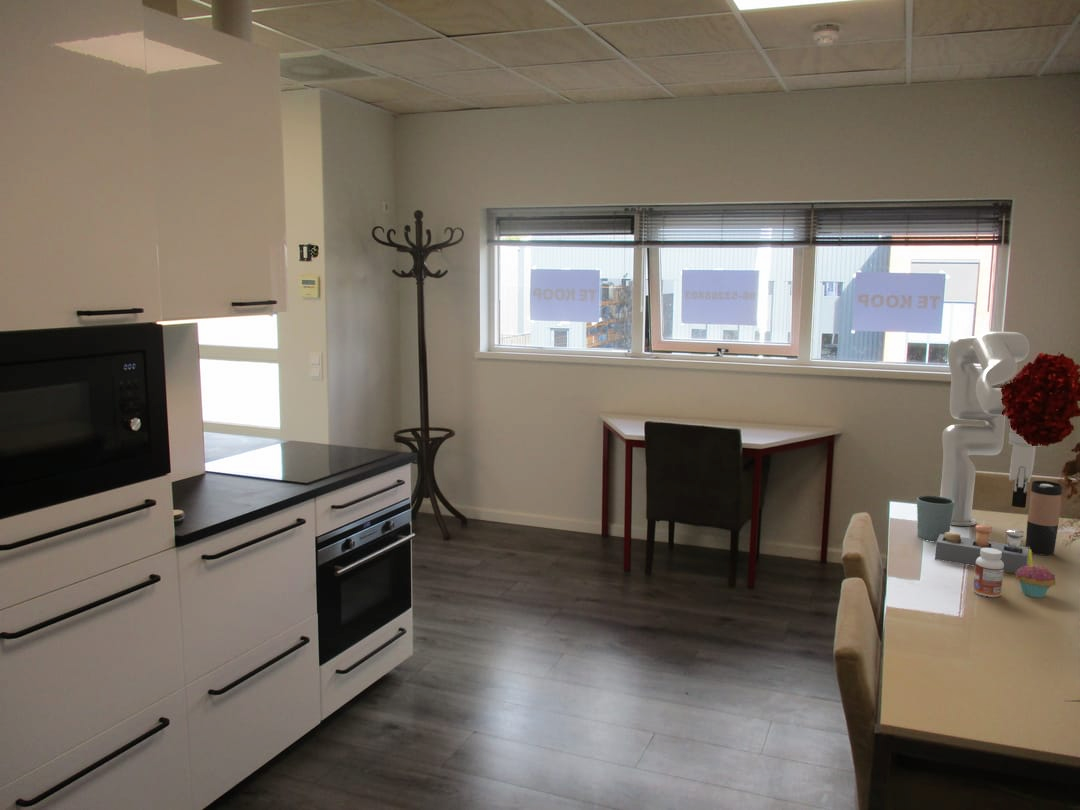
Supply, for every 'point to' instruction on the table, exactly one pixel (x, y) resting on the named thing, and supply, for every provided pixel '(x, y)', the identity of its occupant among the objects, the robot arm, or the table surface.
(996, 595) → the pill bottle
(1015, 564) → the socket block
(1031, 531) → the travel mug
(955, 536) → the oak plug
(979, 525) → the terracotta plug
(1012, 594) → the table surface
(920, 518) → the green tapered cup
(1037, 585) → the cupcake
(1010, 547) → the aluminium plug
